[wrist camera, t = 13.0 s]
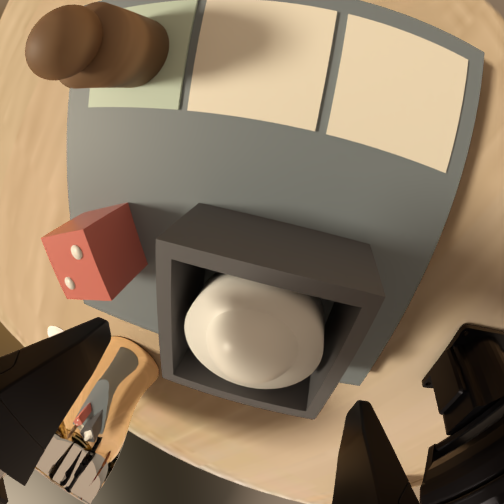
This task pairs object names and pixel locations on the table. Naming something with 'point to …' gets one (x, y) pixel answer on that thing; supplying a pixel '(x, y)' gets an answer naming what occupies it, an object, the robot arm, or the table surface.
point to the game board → (280, 170)
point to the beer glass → (98, 421)
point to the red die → (96, 253)
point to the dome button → (255, 332)
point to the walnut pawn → (97, 47)
